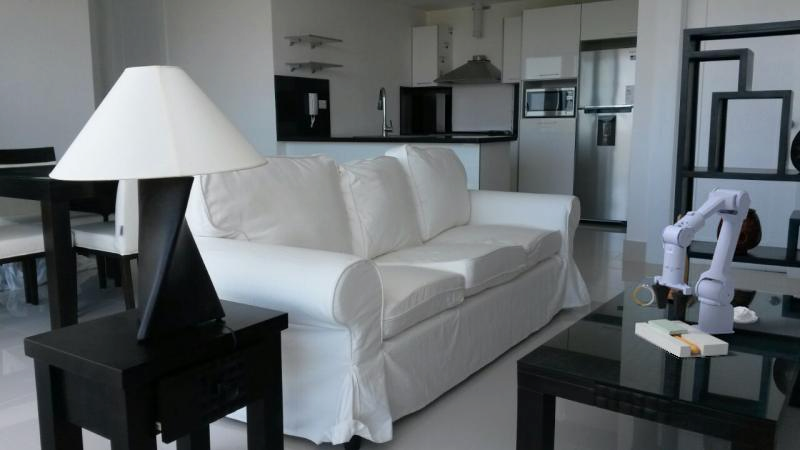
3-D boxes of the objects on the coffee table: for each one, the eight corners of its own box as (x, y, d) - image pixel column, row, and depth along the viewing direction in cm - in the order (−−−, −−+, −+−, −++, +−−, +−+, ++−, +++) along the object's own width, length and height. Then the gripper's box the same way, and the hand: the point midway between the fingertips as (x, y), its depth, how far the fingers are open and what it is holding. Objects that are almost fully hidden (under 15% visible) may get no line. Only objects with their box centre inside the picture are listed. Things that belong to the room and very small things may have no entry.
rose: (763, 307, 210) (753, 313, 204) (761, 320, 211) (752, 326, 204) (731, 301, 217) (720, 306, 211) (729, 314, 218) (719, 319, 211)
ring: (631, 305, 225) (633, 283, 224) (633, 303, 228) (635, 281, 227) (652, 308, 221) (654, 286, 220) (654, 306, 224) (656, 284, 223)
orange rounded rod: (665, 333, 186) (666, 341, 186) (692, 347, 174) (693, 356, 175) (672, 331, 186) (673, 339, 187) (700, 345, 175) (701, 353, 175)
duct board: (678, 331, 197) (679, 320, 196) (727, 355, 177) (728, 343, 176) (634, 334, 194) (635, 323, 193) (679, 358, 173) (680, 346, 173)
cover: (665, 322, 194) (666, 319, 193) (687, 332, 184) (687, 329, 184) (648, 323, 192) (648, 320, 192) (669, 334, 183) (669, 331, 182)
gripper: (646, 262, 191) (643, 305, 194) (677, 273, 177) (673, 320, 180) (667, 261, 193) (663, 304, 195) (699, 272, 179) (695, 319, 181)
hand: (669, 312), depth 187 cm, fingers open, 7 cm apart
